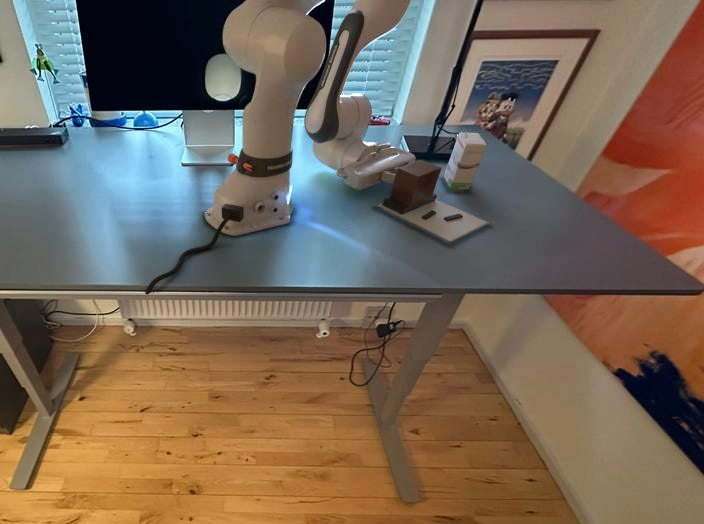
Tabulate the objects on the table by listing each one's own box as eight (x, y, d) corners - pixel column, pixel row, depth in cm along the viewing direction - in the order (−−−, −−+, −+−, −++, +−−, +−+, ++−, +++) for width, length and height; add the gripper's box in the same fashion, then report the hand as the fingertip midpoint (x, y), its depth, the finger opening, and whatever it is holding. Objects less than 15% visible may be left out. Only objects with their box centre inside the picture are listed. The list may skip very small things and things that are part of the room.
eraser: (401, 215, 97) (412, 179, 91) (382, 205, 101) (391, 170, 94) (435, 200, 101) (447, 165, 95) (415, 192, 105) (426, 157, 99)
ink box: (468, 193, 105) (488, 144, 97) (448, 192, 106) (466, 144, 98) (461, 179, 111) (479, 131, 103) (441, 178, 112) (458, 131, 103)
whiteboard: (448, 245, 89) (450, 241, 89) (375, 208, 102) (376, 205, 101) (487, 226, 94) (489, 222, 93) (413, 193, 107) (414, 189, 106)
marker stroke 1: (425, 220, 95) (426, 218, 95) (421, 218, 96) (421, 216, 95) (435, 213, 97) (436, 211, 97) (431, 212, 98) (431, 210, 97)
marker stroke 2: (447, 221, 94) (447, 219, 94) (443, 219, 95) (444, 217, 95) (462, 217, 95) (463, 215, 95) (458, 215, 96) (459, 213, 96)
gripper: (334, 159, 102) (377, 177, 94) (391, 140, 109) (435, 156, 101) (330, 184, 106) (370, 204, 98) (385, 164, 113) (427, 181, 105)
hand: (404, 179), depth 99 cm, fingers closed
